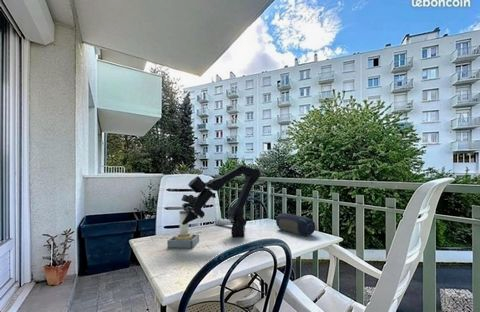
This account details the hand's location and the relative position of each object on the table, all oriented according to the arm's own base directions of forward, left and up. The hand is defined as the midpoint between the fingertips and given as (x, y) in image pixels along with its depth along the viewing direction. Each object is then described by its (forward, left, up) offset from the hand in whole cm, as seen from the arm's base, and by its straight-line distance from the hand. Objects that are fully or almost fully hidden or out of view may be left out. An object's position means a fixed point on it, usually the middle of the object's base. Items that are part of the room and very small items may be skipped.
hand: (181, 223), depth 127 cm
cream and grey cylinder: (-1, -1, -7) cm, 7 cm away
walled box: (-1, -1, -10) cm, 10 cm away
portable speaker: (-57, -28, -11) cm, 64 cm away
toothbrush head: (-18, -40, -11) cm, 45 cm away
